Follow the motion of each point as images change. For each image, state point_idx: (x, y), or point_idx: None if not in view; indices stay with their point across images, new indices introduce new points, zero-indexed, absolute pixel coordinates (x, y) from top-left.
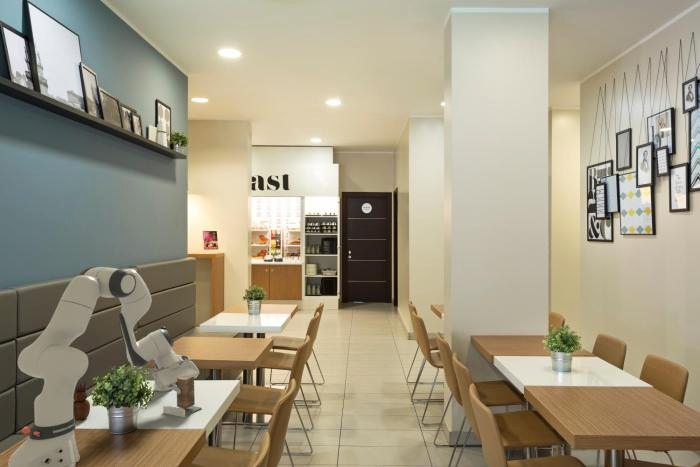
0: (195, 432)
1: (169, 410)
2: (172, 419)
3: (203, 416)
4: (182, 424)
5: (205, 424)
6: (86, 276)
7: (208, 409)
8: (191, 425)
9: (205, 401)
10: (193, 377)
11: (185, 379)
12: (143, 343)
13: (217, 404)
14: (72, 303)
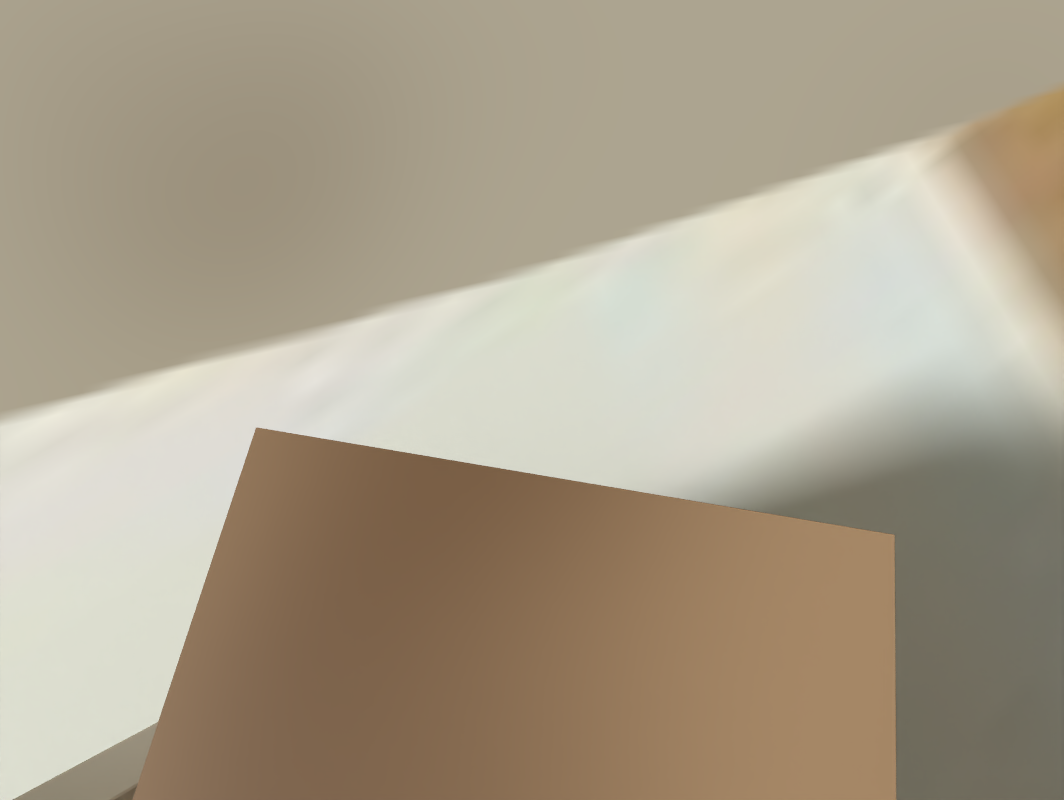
0: (1060, 143)
1: None
2: (914, 693)
3: (633, 330)
4: (975, 419)
5: (833, 170)
6: None
7: (382, 418)
8: (938, 294)
9: (44, 687)
10: (304, 445)
11: (831, 544)
12: None
13: (164, 413)
14: None
